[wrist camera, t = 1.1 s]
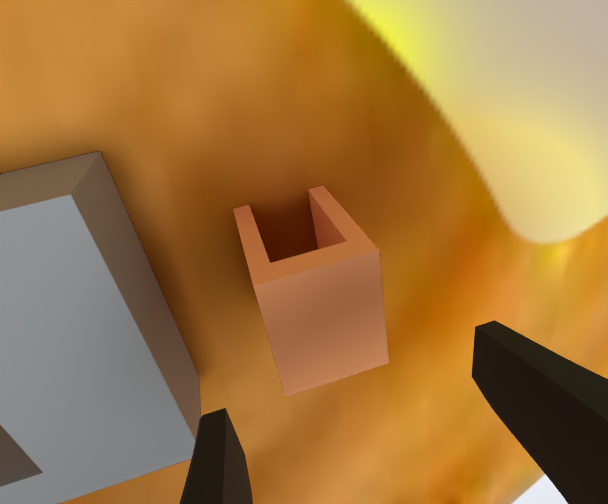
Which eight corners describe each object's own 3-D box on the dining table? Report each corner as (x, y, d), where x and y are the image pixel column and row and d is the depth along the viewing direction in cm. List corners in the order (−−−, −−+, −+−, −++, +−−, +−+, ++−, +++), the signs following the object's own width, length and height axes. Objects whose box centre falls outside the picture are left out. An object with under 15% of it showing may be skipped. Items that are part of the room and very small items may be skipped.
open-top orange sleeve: (337, 278, 20) (388, 363, 15) (259, 301, 20) (285, 397, 15) (323, 185, 18) (379, 250, 13) (232, 208, 17) (253, 286, 12)
